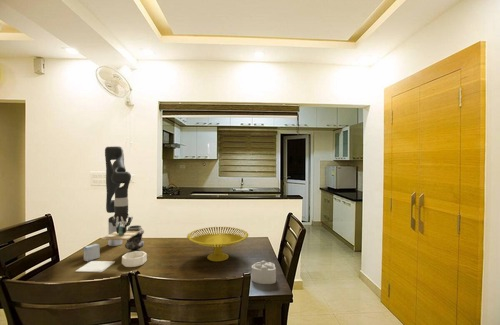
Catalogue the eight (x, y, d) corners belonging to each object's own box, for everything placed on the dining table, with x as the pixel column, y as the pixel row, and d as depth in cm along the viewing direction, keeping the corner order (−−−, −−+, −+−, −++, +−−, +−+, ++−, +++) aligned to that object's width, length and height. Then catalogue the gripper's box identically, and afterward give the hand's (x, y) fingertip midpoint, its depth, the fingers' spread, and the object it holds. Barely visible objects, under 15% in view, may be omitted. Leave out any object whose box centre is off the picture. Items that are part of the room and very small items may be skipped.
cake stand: (240, 273, 148) (240, 247, 147) (175, 266, 156) (175, 241, 155) (253, 248, 187) (253, 228, 187) (200, 244, 195) (201, 224, 195)
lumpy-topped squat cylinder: (276, 284, 136) (276, 267, 135) (251, 284, 135) (251, 267, 135) (274, 275, 146) (274, 259, 146) (251, 275, 146) (251, 259, 146)
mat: (91, 261, 162) (91, 261, 162) (115, 262, 161) (115, 261, 161) (75, 271, 148) (75, 270, 148) (101, 272, 147) (101, 271, 147)
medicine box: (96, 256, 171) (96, 243, 170) (100, 257, 168) (99, 244, 168) (83, 260, 164) (83, 246, 164) (87, 262, 162) (87, 248, 161)
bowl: (129, 258, 167) (129, 251, 167) (149, 259, 167) (149, 251, 167) (118, 267, 154) (118, 258, 154) (140, 267, 154) (140, 259, 154)
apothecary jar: (147, 250, 183) (147, 224, 183) (138, 256, 171) (138, 229, 171) (131, 249, 184) (131, 224, 184) (121, 255, 172) (120, 228, 172)
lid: (116, 232, 165) (116, 223, 165) (139, 232, 165) (139, 223, 164) (101, 239, 150) (101, 229, 150) (126, 240, 150) (126, 230, 150)
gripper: (135, 203, 161) (135, 231, 161) (113, 203, 161) (113, 231, 162) (129, 206, 153) (129, 235, 153) (106, 205, 154) (106, 234, 154)
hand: (121, 233), depth 158 cm, fingers closed on lid, 3 cm apart
